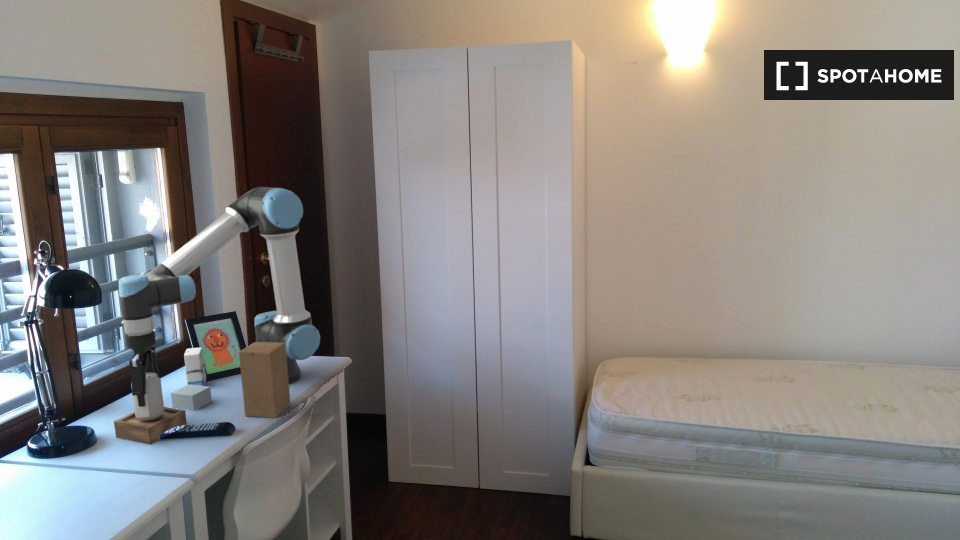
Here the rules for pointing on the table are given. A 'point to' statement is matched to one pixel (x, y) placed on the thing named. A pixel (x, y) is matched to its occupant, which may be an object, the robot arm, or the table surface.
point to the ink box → (195, 366)
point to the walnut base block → (148, 426)
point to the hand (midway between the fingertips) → (149, 410)
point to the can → (152, 397)
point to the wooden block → (264, 379)
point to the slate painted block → (191, 397)
